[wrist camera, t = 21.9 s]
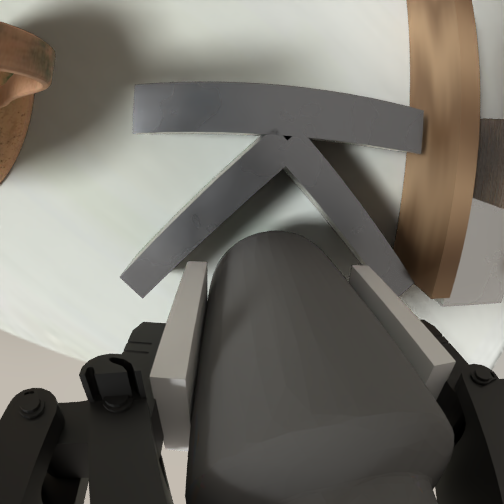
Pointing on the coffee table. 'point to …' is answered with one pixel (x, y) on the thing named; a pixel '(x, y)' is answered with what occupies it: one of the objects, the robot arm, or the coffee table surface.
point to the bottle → (305, 390)
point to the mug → (20, 87)
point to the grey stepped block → (484, 226)
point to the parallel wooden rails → (440, 143)
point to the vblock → (272, 162)
